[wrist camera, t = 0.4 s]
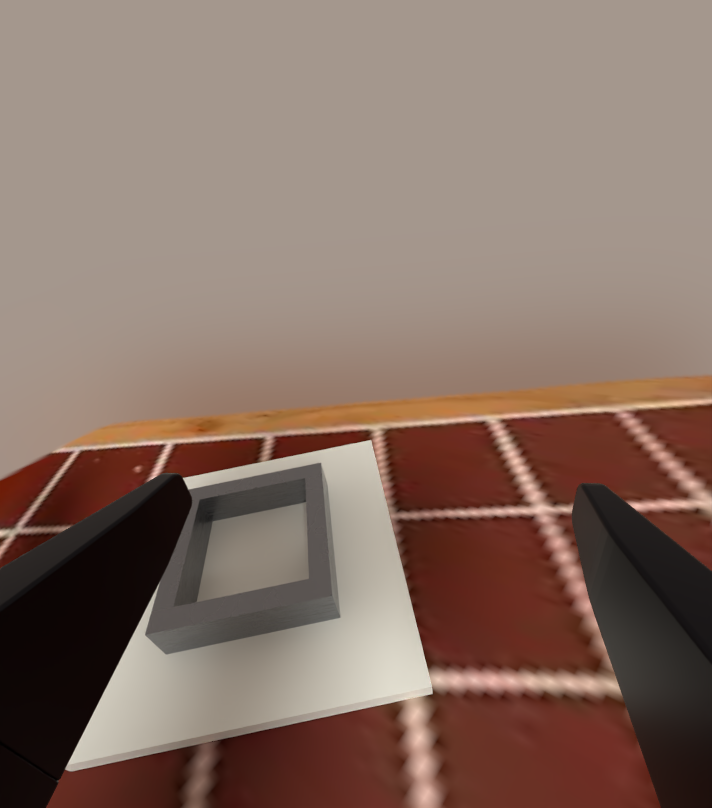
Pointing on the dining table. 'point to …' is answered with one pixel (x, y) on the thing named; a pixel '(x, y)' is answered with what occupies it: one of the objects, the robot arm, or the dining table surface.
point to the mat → (282, 650)
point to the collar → (259, 609)
